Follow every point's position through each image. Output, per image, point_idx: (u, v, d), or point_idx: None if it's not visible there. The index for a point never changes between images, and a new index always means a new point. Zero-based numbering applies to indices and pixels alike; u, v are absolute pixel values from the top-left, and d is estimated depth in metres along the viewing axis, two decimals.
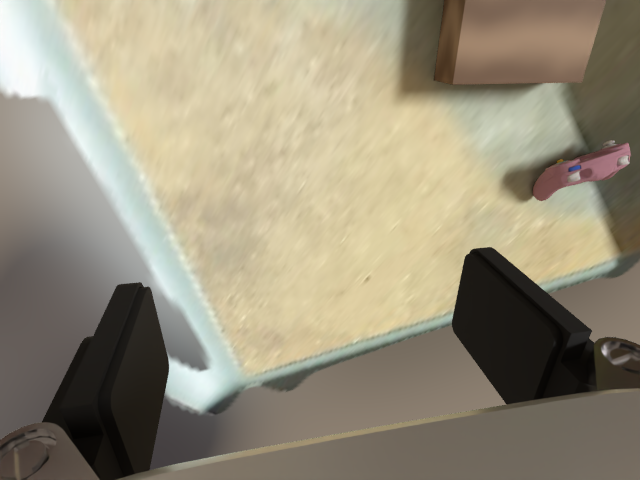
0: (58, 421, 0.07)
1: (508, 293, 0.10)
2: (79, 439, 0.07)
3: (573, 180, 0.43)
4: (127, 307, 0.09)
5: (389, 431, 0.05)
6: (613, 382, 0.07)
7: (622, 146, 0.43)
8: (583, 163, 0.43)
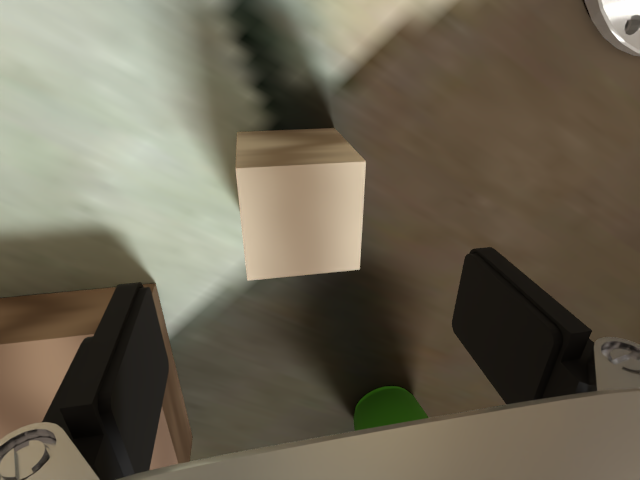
0: (58, 421, 0.07)
1: (508, 293, 0.10)
2: (79, 439, 0.07)
3: None
4: (127, 307, 0.09)
5: (389, 431, 0.05)
6: (613, 382, 0.07)
7: None
8: None
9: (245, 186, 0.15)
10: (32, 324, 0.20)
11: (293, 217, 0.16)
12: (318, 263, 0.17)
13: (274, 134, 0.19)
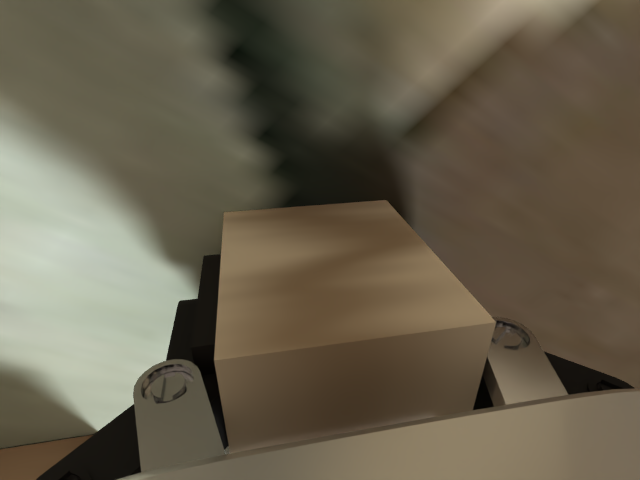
0: None
1: None
2: (202, 376, 0.08)
3: None
4: (218, 273, 0.10)
5: (389, 431, 0.05)
6: (504, 365, 0.08)
7: None
8: None
9: (237, 388, 0.07)
10: None
11: (336, 427, 0.08)
12: None
13: (289, 220, 0.11)
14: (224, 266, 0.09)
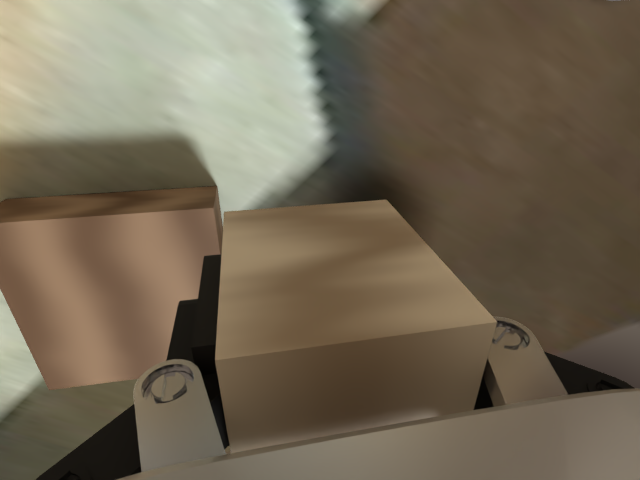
0: None
1: None
2: (202, 376, 0.08)
3: None
4: (218, 273, 0.10)
5: (389, 431, 0.05)
6: (504, 364, 0.08)
7: None
8: None
9: (238, 388, 0.07)
10: (129, 205, 0.25)
11: (337, 427, 0.08)
12: None
13: (289, 219, 0.11)
14: (224, 266, 0.09)
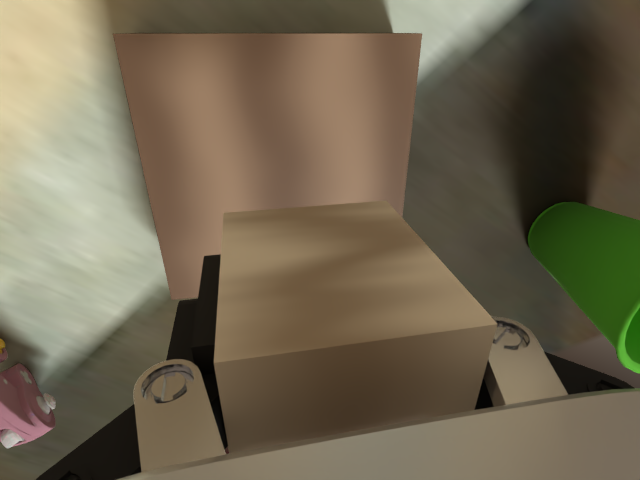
0: None
1: None
2: (202, 375, 0.08)
3: None
4: (218, 273, 0.10)
5: (389, 431, 0.05)
6: (504, 365, 0.08)
7: (39, 423, 0.25)
8: None
9: (237, 391, 0.07)
10: (307, 33, 0.19)
11: (337, 429, 0.08)
12: None
13: (289, 220, 0.11)
14: (224, 267, 0.09)
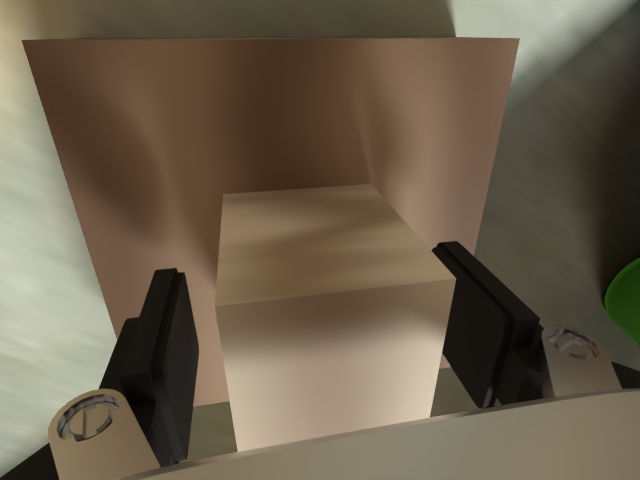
0: None
1: (467, 284, 0.10)
2: (134, 405, 0.08)
3: None
4: (167, 289, 0.10)
5: (389, 431, 0.05)
6: (564, 371, 0.08)
7: None
8: None
9: (234, 332, 0.08)
10: (341, 38, 0.12)
11: (320, 372, 0.09)
12: None
13: (282, 200, 0.12)
14: (223, 237, 0.10)
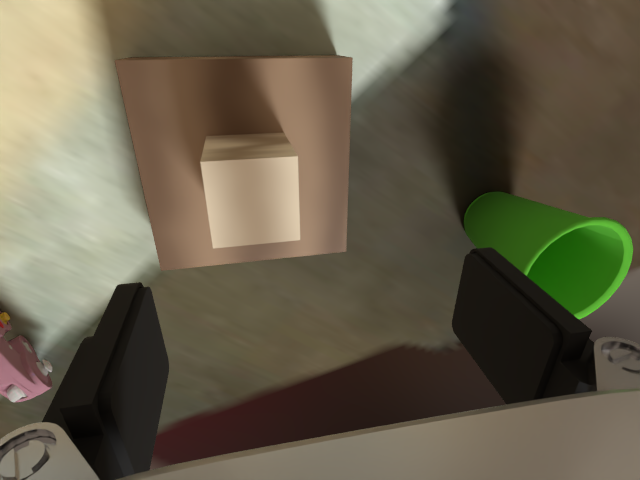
0: (58, 421, 0.07)
1: (508, 293, 0.10)
2: (79, 439, 0.07)
3: None
4: (127, 307, 0.09)
5: (389, 431, 0.05)
6: (613, 382, 0.07)
7: (39, 382, 0.30)
8: None
9: (208, 175, 0.20)
10: (265, 57, 0.25)
11: (245, 198, 0.21)
12: (267, 235, 0.22)
13: (235, 137, 0.25)
14: (205, 147, 0.22)
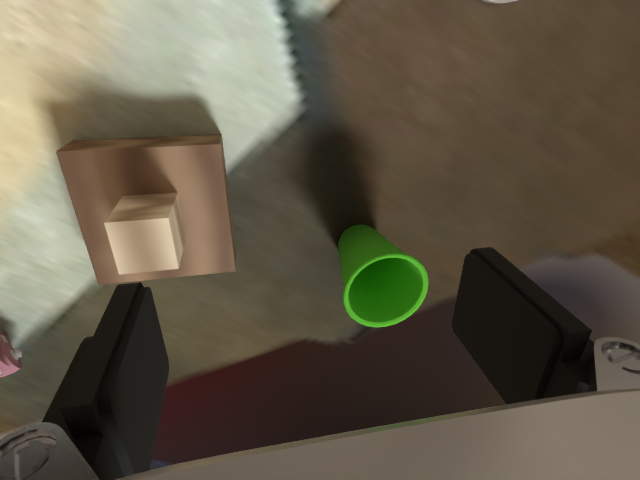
0: (58, 421, 0.07)
1: (508, 293, 0.10)
2: (79, 439, 0.07)
3: None
4: (127, 307, 0.09)
5: (389, 431, 0.05)
6: (613, 382, 0.07)
7: (10, 364, 0.43)
8: None
9: (110, 230, 0.32)
10: (161, 143, 0.37)
11: (136, 243, 0.33)
12: (155, 265, 0.34)
13: (140, 198, 0.36)
14: (114, 208, 0.34)
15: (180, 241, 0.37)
